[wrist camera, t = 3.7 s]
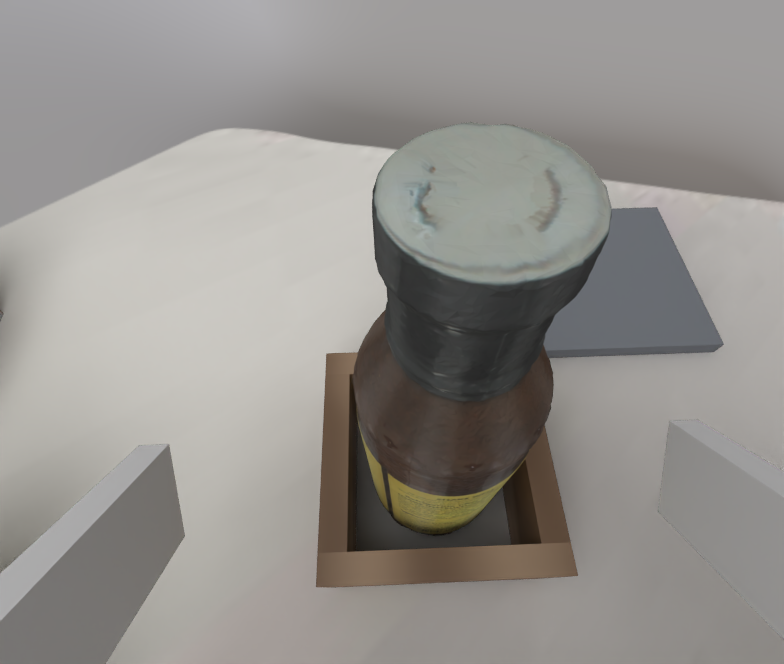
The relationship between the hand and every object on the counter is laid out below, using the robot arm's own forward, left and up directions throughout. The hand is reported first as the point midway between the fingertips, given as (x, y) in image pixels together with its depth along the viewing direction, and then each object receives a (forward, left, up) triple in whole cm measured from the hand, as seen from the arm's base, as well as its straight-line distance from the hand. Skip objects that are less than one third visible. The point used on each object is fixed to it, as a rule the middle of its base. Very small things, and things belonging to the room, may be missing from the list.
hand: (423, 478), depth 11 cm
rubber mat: (-14, -16, -13) cm, 25 cm away
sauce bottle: (-1, -3, -13) cm, 14 cm away
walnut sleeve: (-1, -3, -13) cm, 13 cm away
